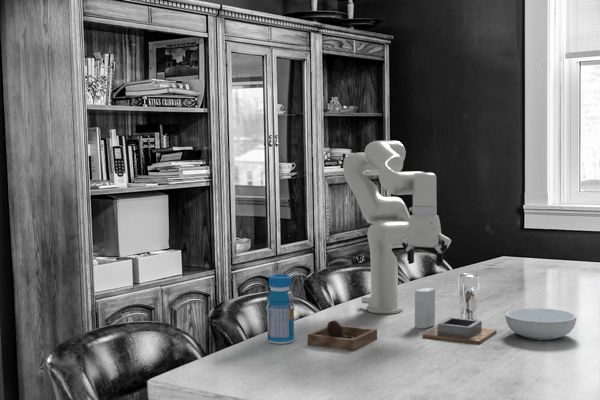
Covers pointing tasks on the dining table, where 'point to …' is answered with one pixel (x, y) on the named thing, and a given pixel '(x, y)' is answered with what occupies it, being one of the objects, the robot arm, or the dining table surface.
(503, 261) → the dining table surface
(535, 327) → the serving bowl
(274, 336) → the beverage bottle
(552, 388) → the dining table surface
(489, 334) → the board with square socket
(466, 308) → the beer glass
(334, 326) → the compass
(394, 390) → the dining table surface
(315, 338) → the square wooden tray
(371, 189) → the robot arm
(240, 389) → the dining table surface
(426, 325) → the skincare box
